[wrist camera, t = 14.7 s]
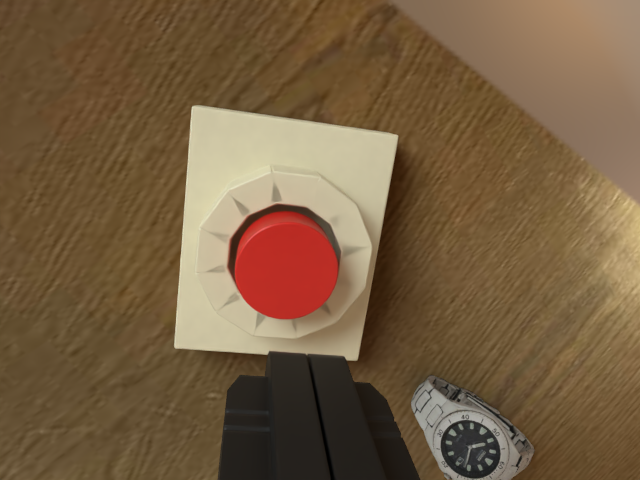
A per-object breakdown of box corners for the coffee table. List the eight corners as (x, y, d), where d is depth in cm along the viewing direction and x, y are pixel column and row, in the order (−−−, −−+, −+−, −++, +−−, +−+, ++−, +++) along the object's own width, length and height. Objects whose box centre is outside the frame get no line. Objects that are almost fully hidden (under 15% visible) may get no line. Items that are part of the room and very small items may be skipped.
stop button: (241, 205, 18) (240, 216, 16) (338, 216, 18) (346, 228, 17) (232, 296, 19) (229, 316, 17) (324, 304, 19) (330, 324, 18)
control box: (196, 104, 20) (184, 106, 16) (388, 132, 21) (413, 139, 18) (179, 330, 22) (166, 372, 19) (351, 343, 24) (366, 384, 20)
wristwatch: (427, 351, 24) (469, 414, 19) (520, 402, 26) (579, 471, 21) (388, 406, 25) (419, 480, 20) (481, 453, 26) (530, 531, 22)
